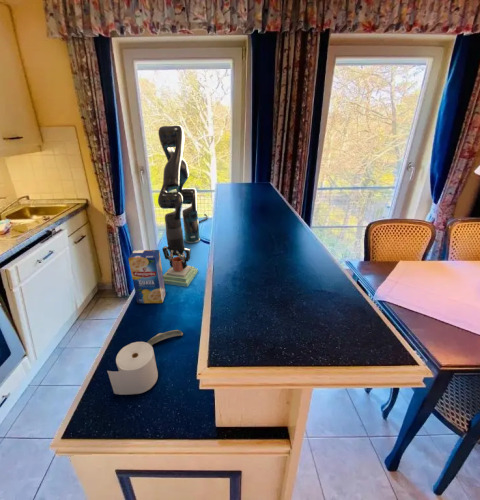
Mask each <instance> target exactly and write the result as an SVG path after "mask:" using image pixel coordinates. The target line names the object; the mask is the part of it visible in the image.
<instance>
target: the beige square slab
mask: <svg viewBox="0 0 480 500" xmlns="http://www.w3.org/2000/svg"><path fill="white" fill-rule="evenodd" d="M170 267H171V266H170ZM170 267H169V268H170ZM169 268H168V269H169ZM190 269H191V265H187V267H186V268H185V269H183V270H181V271H174V270H173V268H172V267H171V268H170V269H169V271H168V270H167V271H168V272H167V271H166V272H167V273H166V272H165V273H166V274H167V275H168V276H176V277H185V276H186V275H187V273H188V272H189V271H190Z"/></svg>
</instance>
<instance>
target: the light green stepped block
mask: <svg viewBox="0 0 480 500" xmlns="http://www.w3.org/2000/svg"><path fill="white" fill-rule="evenodd" d="M190 266H191V265H190ZM170 268H171V266H169V268H168V269H167V270H166V271H165V272H164V273H163V279H164V285H172V286H180V287H184V288H185V287H187V288H188V287H189V285H190V284H191V283H192V281H193V280H194V278H195V277H196V275H197V274H198V272H199V269H198V268H196V266H191V269H190V271H189V272H188V273H187V275H186V276H185V277H176V276H168V275H167V274H166V273H167V272H168V271H169V269H170Z"/></svg>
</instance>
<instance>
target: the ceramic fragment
mask: <svg viewBox="0 0 480 500" xmlns="http://www.w3.org/2000/svg"><path fill="white" fill-rule="evenodd" d="M180 336H181V337H182V336H184V333H183V332H182V331H181V330H179V329H175V330H169V331H165V332H159V333H157V334H156V335H155V336H153V337H151V338H150V339H149V340H147V342H146V343H149V344H150V345H151V346H153V345H155V344H157V343H159V342H161V341H163V340H166V339H170V338H173V337H180Z"/></svg>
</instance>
